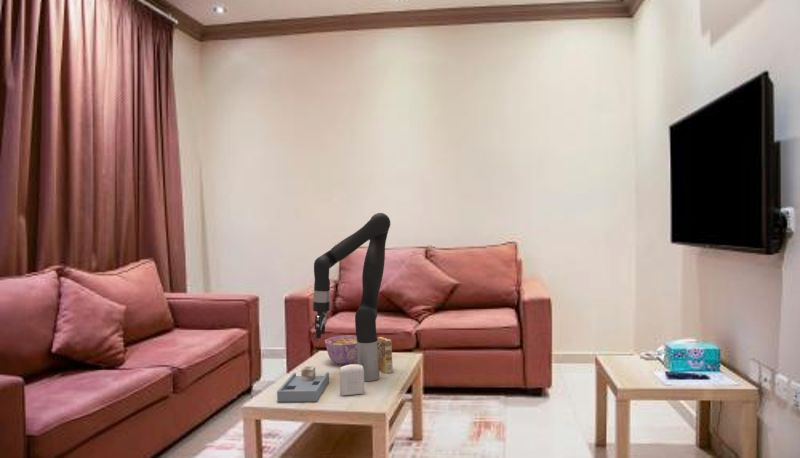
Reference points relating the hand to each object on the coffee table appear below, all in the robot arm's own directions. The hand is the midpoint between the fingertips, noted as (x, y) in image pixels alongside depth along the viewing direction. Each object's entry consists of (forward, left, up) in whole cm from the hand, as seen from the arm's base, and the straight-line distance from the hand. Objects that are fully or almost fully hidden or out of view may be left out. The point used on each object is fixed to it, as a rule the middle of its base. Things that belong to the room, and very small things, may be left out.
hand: (320, 336), depth 264 cm
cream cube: (+4, +8, -17) cm, 20 cm away
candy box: (-27, -14, -20) cm, 36 cm away
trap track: (+4, +16, -20) cm, 26 cm away
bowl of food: (-6, -29, -20) cm, 36 cm away
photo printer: (-17, +19, -20) cm, 33 cm away
